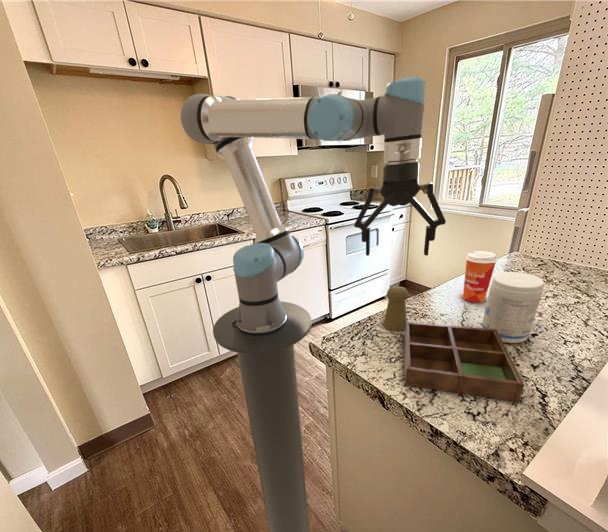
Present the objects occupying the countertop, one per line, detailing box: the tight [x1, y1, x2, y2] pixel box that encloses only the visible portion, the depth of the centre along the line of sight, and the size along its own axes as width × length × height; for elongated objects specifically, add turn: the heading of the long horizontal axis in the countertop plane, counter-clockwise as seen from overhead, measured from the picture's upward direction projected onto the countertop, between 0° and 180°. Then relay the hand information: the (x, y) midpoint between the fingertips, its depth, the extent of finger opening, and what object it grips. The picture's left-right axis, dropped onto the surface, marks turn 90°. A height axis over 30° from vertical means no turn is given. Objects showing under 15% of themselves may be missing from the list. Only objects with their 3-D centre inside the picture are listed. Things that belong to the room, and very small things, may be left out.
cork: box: [383, 285, 409, 331], centre depth 83 cm, size 6×6×11 cm
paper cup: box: [462, 250, 498, 304], centre depth 91 cm, size 8×8×14 cm
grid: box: [403, 321, 525, 403], centre depth 67 cm, size 19×19×4 cm
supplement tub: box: [480, 271, 545, 344], centre depth 73 cm, size 10×10×15 cm
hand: (395, 254), depth 78 cm, fingers open, 13 cm apart
